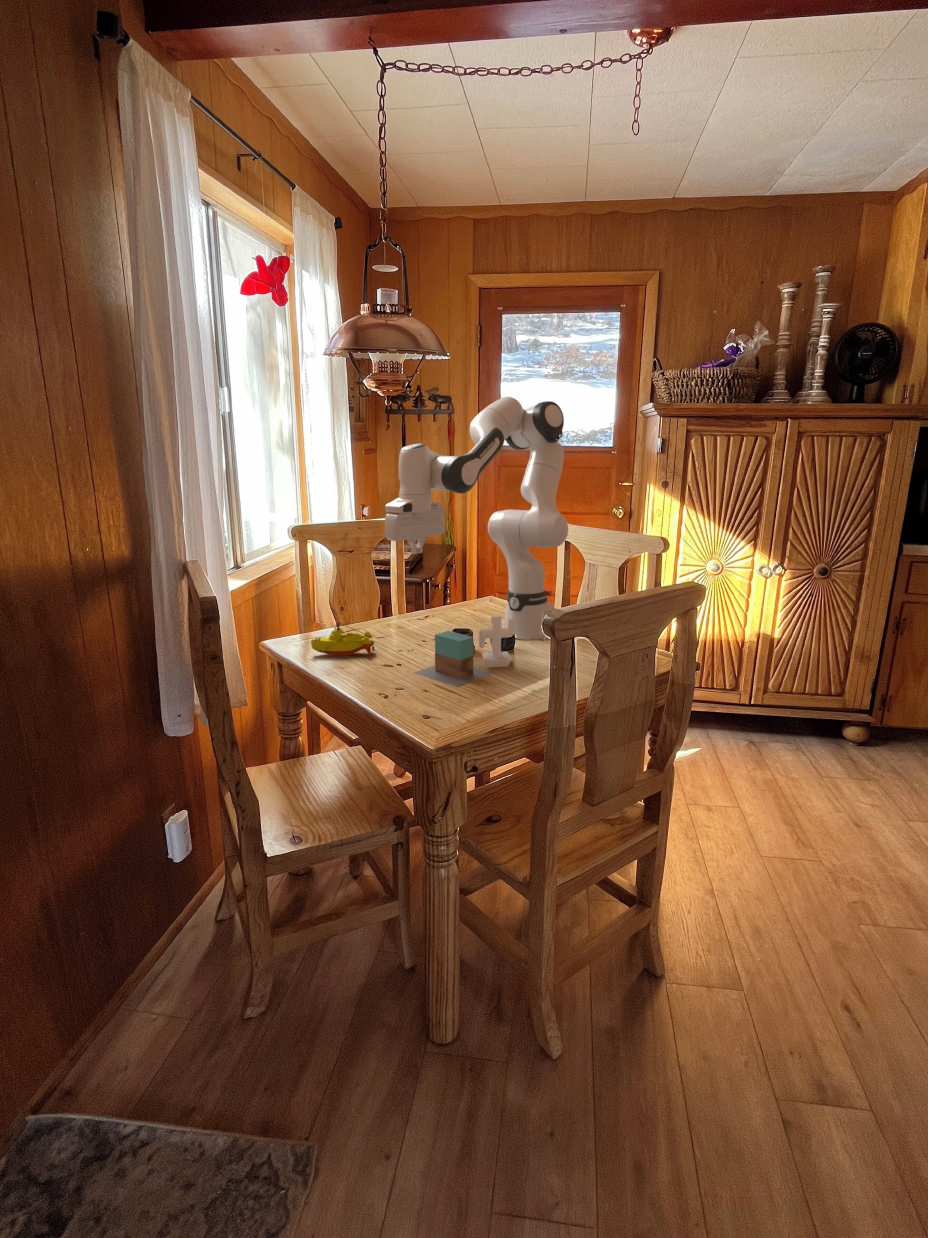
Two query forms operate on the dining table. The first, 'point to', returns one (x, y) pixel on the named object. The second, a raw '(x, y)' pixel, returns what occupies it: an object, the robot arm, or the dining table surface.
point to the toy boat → (343, 642)
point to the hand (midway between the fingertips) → (416, 553)
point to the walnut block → (454, 666)
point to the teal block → (454, 645)
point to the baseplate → (454, 681)
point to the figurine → (496, 641)
